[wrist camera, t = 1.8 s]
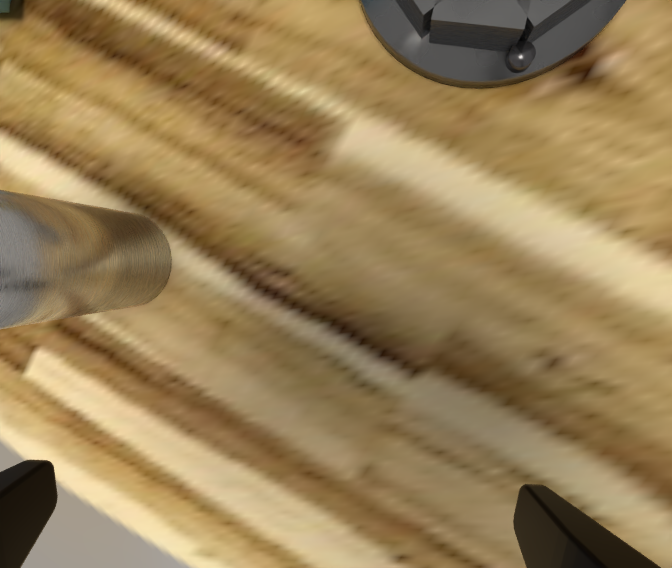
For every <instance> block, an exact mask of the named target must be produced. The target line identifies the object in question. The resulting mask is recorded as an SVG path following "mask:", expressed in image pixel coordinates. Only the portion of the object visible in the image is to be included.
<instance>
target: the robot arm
mask: <svg viewBox="0 0 672 568" xmlns="http://www.w3.org/2000/svg"><path fill="white" fill-rule="evenodd" d="M56 503H57V488H56V480H55V472H54V466H53V464H52V463H51V462H50V461H47V460H26V461H23V462H21V463H19V464H17V465H15V466H13V467H10V468H8V469H6V470H4V471H2V472H0V568H21V566H22V564H23V563H24V561H25V559H26V558H27V556H28V554H29V552H30V551H31V549H32V547H33V546H34V544H35V542H36V540H37V539H38V537H39V535H40V534H41V532H42V530H43V528H44V527H45V525H46V523H47V521H48V520H49V518H50V517H51V515H52V513H53V511H54V509H55V507H56ZM513 523H514V530H515V534H516V537H517V540H518V543H519V546H520V549H521V552H522V555H523V558H524V561H525V564H526V567H527V568H661V567H659V566H658V565H657V564H655V563H654V562H652V561H651V560H650V559H648V558H647V557H645V556H644V555H642V554H641V553H640V552H638V551H637V550H635V549H634V548H633V547H631V546H630V545H628V544H627V543H625V542H624V541H623V540H621V539H620V538H618V537H617V536H616V535H614V534H613V533H611V532H610V531H608V530H607V529H606V528H604V527H603V526H601V525H600V524H599V523H597V522H596V521H594V520H593V519H591V518H590V517H589V516H587V515H586V514H584V513H583V512H582V511H580V510H579V509H577V508H576V507H574V506H573V505H572V504H570V503H569V502H567V501H566V500H565V499H563V498H562V497H560V496H559V495H557V494H556V493H555V492H553V491H552V490H550V489H549V488H547V487H546V486H544V485H533V484H525V485H522V486H521V488H520V491H519V495H518V500H517V504H516V509H515V514H514V521H513Z"/></svg>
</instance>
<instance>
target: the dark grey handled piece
mask: <svg viewBox="0 0 672 568" xmlns="http://www.w3.org/2000/svg"><path fill="white" fill-rule="evenodd" d="M625 1H626V0H360V4H361V7H362V9H363V12H364V14H365V17H366V19H367V22H368V23H369V25H370V27H371V29H372V30H373V32H374V34H375V36H376V37H377V38H378V40H379V41H380V42H381V43H382V45H383V46H384V47H385V48H386V50H387V51H389V52H390V53H391V54H392V55H393V56H394V57H395V58H396V59H397V60H398V61H399V62H401V63H402V64H404V65H405V66H406V67H408V68H409V69H411V70H412V71H414V72H416V73H418V74H420V75H422V76H424V77H426V78H428V79H431V80H434V81H437V82H440V83H442V84H447V85H452V86H457V87H466V88H491V87H500V86H505V85H510V84H516V83H519V82H522V81H525V80H528V79H531V78H534V77H536V76H539V75H541V74H543V73H545V72H547V71H549V70H552V69H553V68H555V67H557V66H558V65H560V64H562V63H563V62H565V61H567V60H568V59H570V58H571V57H572V56H574V55H575V54H576V53H578V52H579V51H580V50H581V49H583V48H584V47H585V46H586V45H587V44H589V43H590V42H591V41H592V40H593V39H594V38H595V37H596V36H597V35H598V34H599V33H600V32H601V31H602V30H603V28H604V27H605V26H606V25H607V24H608V23H609V21H610V20H611V19H612V18H613V16H614V15H615V14H616V13H617V12H618V10H619V9H620V8H621V7H622V5H623V4H624V3H625Z"/></svg>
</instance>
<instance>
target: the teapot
mask: <svg viewBox="0 0 672 568" xmlns="http://www.w3.org/2000/svg"><path fill="white" fill-rule="evenodd" d="M10 3H11V0H0V13H10Z"/></svg>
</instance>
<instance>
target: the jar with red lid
mask: <svg viewBox="0 0 672 568" xmlns="http://www.w3.org/2000/svg"><path fill="white" fill-rule="evenodd" d="M170 270H171V252H170V247H169V244H168V241H167V239H166V237H165V235H164V234H163V232H162V231H161V229H160V228H159V227H158V226H157V225H156V224H155V223H154V222H153V221H151V220H150V219H148V218H146V217H145V216H142V215H139V214H135V213H130V212H124V211H118V210H113V209H107V208H101V207H96V206H90V205H84V204H78V203H73V202H67V201H61V200H56V199H50V198H44V197H38V196H33V195H27V194H21V193H16V192H10V191H4V190H0V329H4V328H10V327H16V326H21V325H27V324H33V323H39V322H45V321H51V320H57V319H63V318H69V317H75V316H80V315H86V314H92V313H98V312H104V311H110V310H116V309H122V308H128V307H133V306H139V305H142V304H145V303H147V302H149V301H151V300H152V299H154V298H155V297H156V296H157V295H158V294H159V293H160V292H161V291H162V289H163V288H164V286H165V285H166V283H167V280H168V278H169V275H170Z"/></svg>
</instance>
